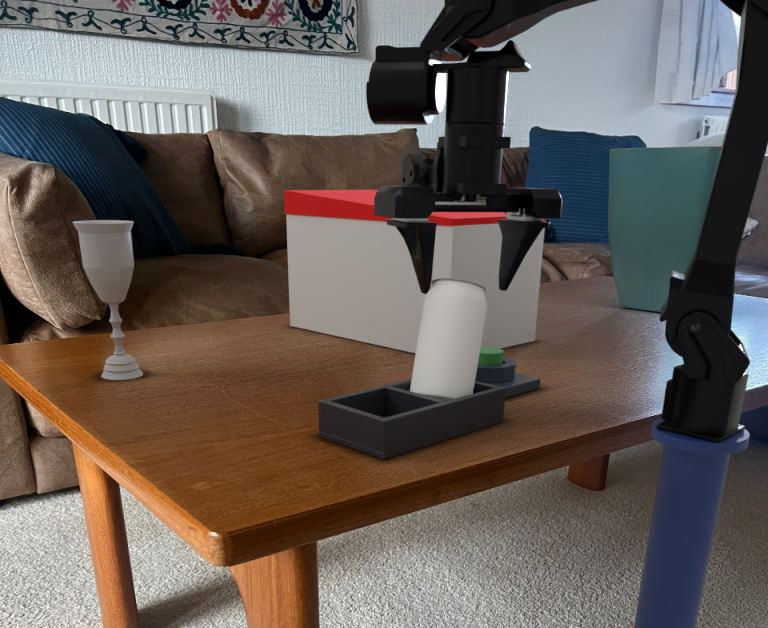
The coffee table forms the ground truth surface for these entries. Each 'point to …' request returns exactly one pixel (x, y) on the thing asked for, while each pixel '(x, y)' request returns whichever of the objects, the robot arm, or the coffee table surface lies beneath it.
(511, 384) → the grey button base
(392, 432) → the divided tray
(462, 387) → the can
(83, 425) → the coffee table surface
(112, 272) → the chalice
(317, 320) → the red-topped white box
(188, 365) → the coffee table surface
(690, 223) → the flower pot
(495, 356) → the button
